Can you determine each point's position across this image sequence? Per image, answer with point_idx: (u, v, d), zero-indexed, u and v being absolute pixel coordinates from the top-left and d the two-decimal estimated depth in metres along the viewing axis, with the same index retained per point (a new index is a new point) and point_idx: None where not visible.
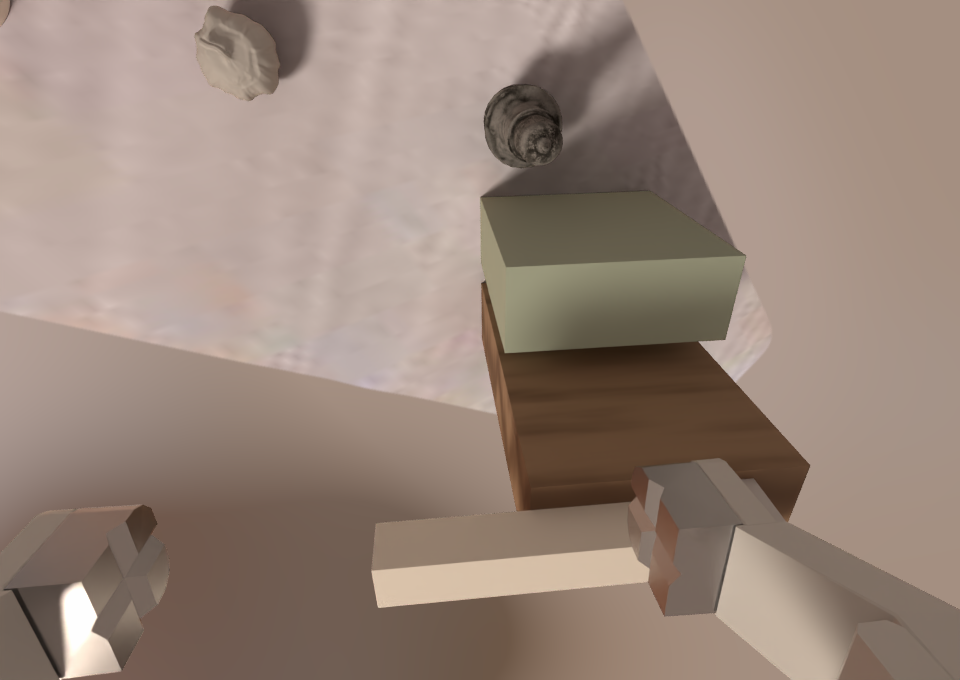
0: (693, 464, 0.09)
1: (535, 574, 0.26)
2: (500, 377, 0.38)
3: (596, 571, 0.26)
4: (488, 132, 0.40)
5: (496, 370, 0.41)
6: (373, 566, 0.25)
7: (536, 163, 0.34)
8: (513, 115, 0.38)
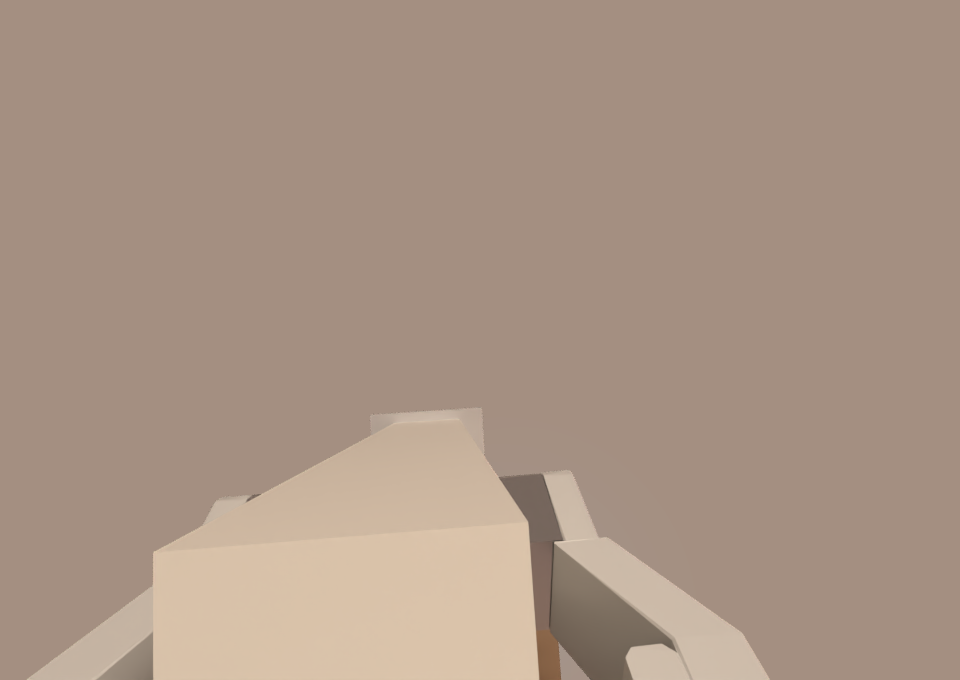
0: (539, 476, 0.09)
1: (408, 444, 0.12)
2: None
3: (425, 433, 0.15)
4: None
5: None
6: (158, 580, 0.04)
7: None
8: None
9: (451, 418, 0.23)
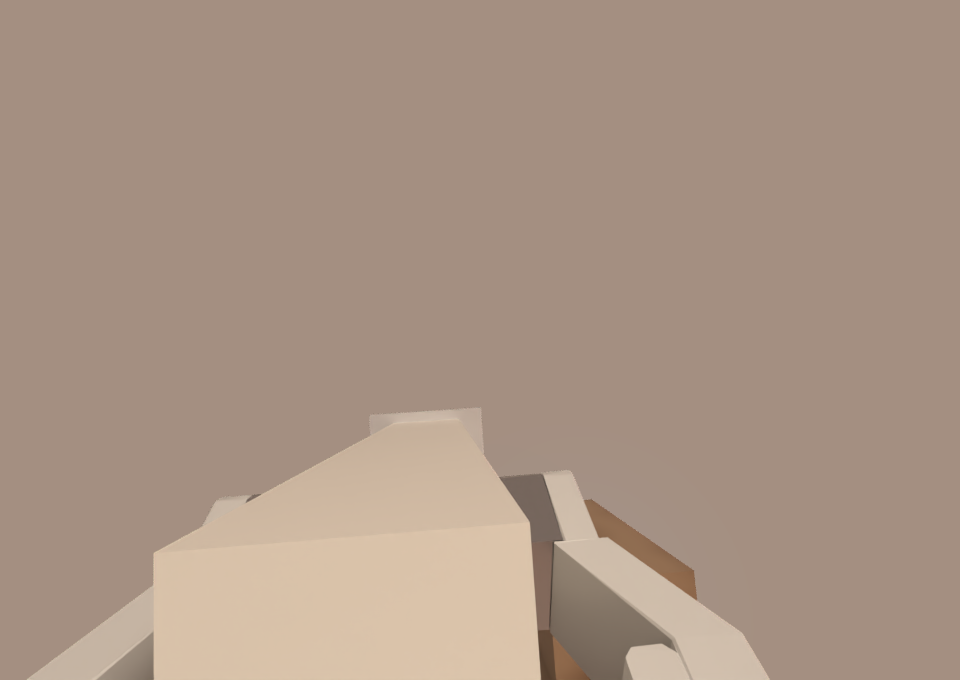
0: (539, 476, 0.09)
1: (408, 444, 0.12)
2: None
3: (424, 433, 0.15)
4: None
5: None
6: (159, 581, 0.04)
7: None
8: None
9: (450, 418, 0.23)
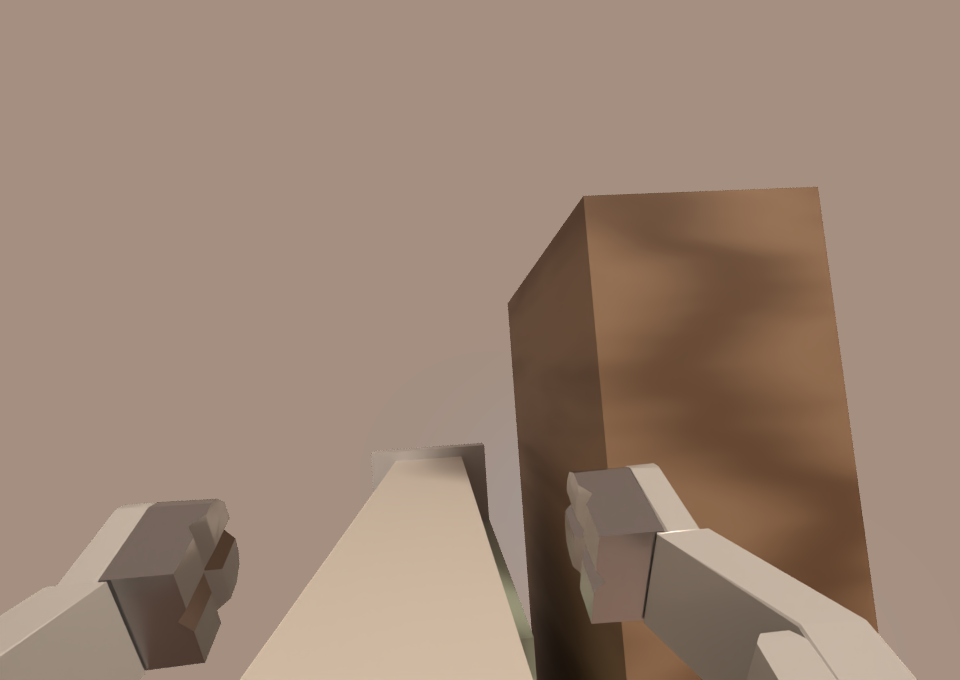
0: (626, 469, 0.09)
1: (413, 519, 0.12)
2: None
3: (428, 492, 0.15)
4: None
5: None
6: None
7: None
8: None
9: (453, 456, 0.23)
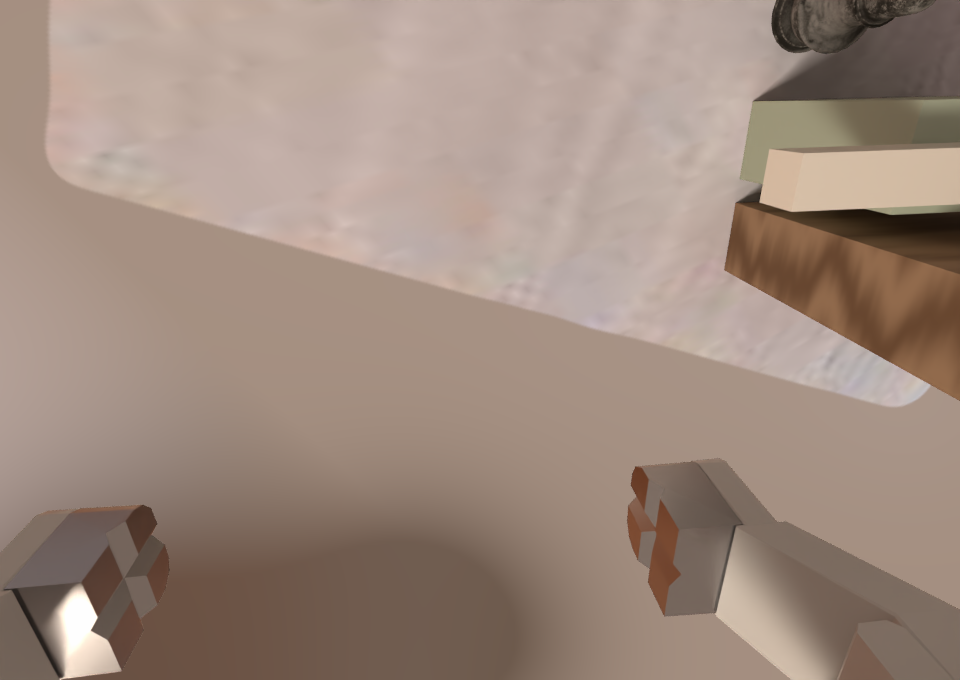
0: (694, 464, 0.09)
1: (944, 176, 0.27)
2: (849, 261, 0.34)
3: None
4: (802, 9, 0.37)
5: (820, 264, 0.36)
6: (802, 152, 0.26)
7: (912, 8, 0.31)
8: None
9: None
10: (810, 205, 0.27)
